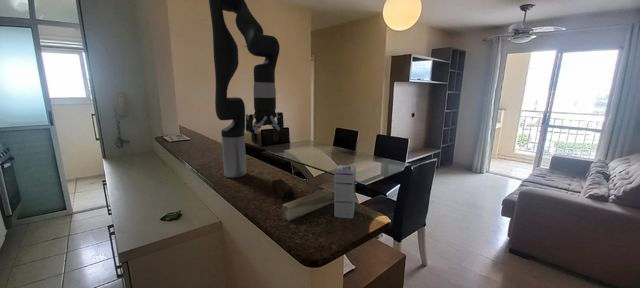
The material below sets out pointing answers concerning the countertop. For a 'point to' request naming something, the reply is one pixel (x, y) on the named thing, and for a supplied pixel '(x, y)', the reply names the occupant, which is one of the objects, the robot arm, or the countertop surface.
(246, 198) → the countertop surface
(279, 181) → the brick
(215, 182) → the countertop surface
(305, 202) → the fence board
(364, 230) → the countertop surface
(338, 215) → the syrup box
